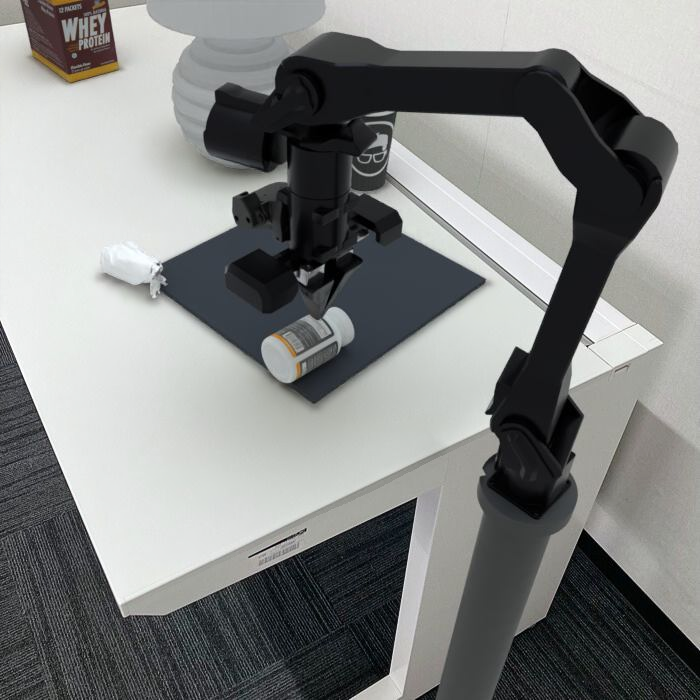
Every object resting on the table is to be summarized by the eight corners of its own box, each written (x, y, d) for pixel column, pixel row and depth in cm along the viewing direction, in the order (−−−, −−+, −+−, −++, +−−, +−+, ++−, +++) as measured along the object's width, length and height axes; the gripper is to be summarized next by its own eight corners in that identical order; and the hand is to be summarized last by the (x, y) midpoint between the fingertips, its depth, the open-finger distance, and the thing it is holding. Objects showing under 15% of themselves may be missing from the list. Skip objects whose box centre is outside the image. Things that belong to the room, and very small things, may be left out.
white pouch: (179, 279, 104) (117, 245, 105) (171, 251, 98) (105, 216, 99) (157, 307, 102) (94, 272, 103) (148, 281, 96) (80, 244, 97)
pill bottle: (266, 378, 91) (330, 341, 96) (296, 390, 87) (362, 351, 92) (253, 334, 88) (320, 298, 94) (284, 344, 84) (352, 307, 89)
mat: (485, 282, 106) (486, 278, 105) (314, 403, 88) (314, 400, 87) (316, 189, 121) (316, 186, 121) (142, 276, 104) (141, 273, 103)
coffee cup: (405, 175, 125) (414, 84, 115) (376, 202, 119) (382, 108, 109) (353, 158, 129) (357, 68, 119) (322, 184, 122) (323, 90, 112)
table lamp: (249, 212, 116) (233, -93, 89) (132, 155, 127) (86, -132, 100) (354, 149, 131) (367, -128, 104) (241, 103, 142) (226, -158, 115)
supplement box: (70, 83, 145) (51, -5, 134) (32, 56, 153) (12, -30, 143) (120, 70, 150) (107, -17, 140) (81, 44, 159) (65, -40, 148)
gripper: (328, 120, 80) (325, 248, 90) (179, 185, 70) (194, 320, 80) (412, 161, 75) (398, 292, 85) (263, 238, 64) (268, 376, 75)
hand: (316, 317), depth 81 cm, fingers closed
